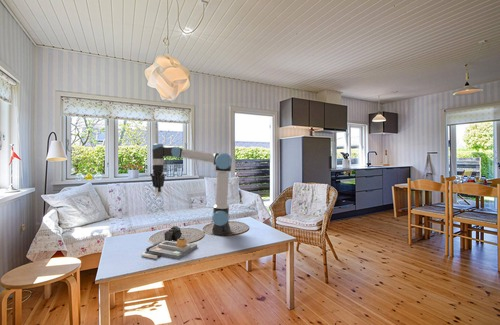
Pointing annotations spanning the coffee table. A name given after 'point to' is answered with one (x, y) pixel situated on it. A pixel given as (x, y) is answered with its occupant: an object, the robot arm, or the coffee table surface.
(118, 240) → the coffee table surface
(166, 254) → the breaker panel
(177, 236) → the camera
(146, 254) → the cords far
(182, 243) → the breaker lever
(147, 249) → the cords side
